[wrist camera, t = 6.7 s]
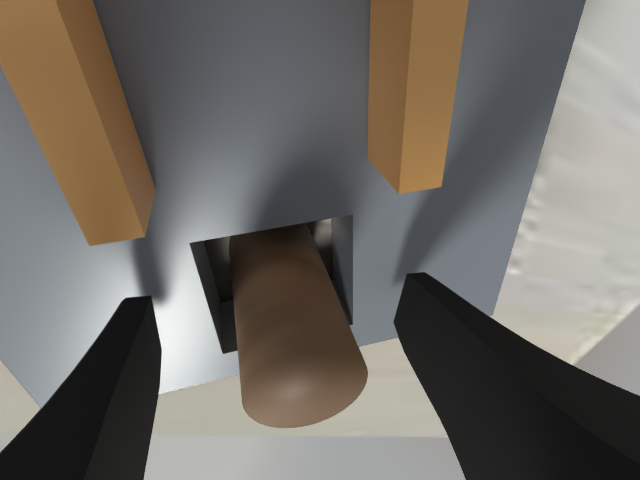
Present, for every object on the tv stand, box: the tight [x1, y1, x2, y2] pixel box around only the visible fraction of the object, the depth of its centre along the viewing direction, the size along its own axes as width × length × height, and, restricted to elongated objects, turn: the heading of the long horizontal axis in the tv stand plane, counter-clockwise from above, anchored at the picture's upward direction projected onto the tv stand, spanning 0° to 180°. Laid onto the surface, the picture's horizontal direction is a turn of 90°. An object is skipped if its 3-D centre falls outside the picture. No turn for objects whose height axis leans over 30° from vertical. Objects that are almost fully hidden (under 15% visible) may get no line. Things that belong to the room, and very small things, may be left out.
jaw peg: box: [229, 223, 368, 428], centre depth 11 cm, size 3×3×6 cm
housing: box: [0, 0, 586, 408], centre depth 11 cm, size 12×16×2 cm
